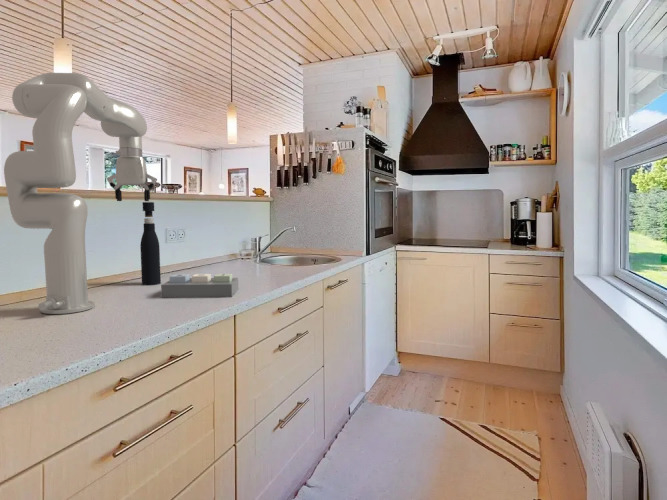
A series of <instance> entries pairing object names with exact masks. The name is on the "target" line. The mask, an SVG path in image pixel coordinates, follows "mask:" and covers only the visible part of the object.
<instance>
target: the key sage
mask: <svg viewBox="0 0 667 500" xmlns="http://www.w3.org/2000/svg"><path fill="white" fill-rule="evenodd" d="M213 278H214V283H222V282H232V278H233V273H216V274H215V275H214V276H213Z"/></svg>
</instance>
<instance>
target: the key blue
mask: <svg viewBox="0 0 667 500" xmlns="http://www.w3.org/2000/svg"><path fill="white" fill-rule="evenodd" d="M190 275H191V274H190V273H176V274H175V273H174V274H172V275H170V276H168V277H169V278H168V279H169V281H170V283H187V282H189V281H190V278H191V276H190Z"/></svg>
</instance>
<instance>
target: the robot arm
mask: <svg viewBox="0 0 667 500" xmlns="http://www.w3.org/2000/svg"><path fill="white" fill-rule="evenodd" d="M11 97H12V98H11V99H12V103H13V106H14V108H15V109H16V111H17V112H18V113H19V114H21V115H23V116H24V117H27V118H32V119H35V122H33V126H32V143H33V150H19V151H15V152H12V153H10V154H9V155H8V156H7V158H5V161H4V165H3V175H4V182H5V186H6V195H7V199H8V205H9V211H10V215H11V217H12V220H13V221H14V222H15V224H16V225H17V226H19V227H21V228H24V229H33V230H34V229H37V230H39V229H47V230H48V229H49V230H51V231H50V232H49V234H48V235H47V238H46V239H45V241H44V243H43V257H44V271H45V272H44V273H45V274H44V275H45V287H46V288H45V290H46V296H45V298H46V299H45V301H43V302H40V303H38V304H37V305H38V306H37V307H38V309H39V310H40V312H41V313H43V314H46V315H63V314H64V315H65V314H72V313H80V312H84V311H87V310H91V309H93V308H94V307H95V306H96V305H95V302H94V301H93V300H89V294H88V293H89V292H88V291H89V289H88V274H87V273H88V271H87V256H86V253H87V252H86V225H87V219H88V210H89V209H88V204H87V202H86V201H85V200H84V198H82V197H81V196H79V195H77V194H74V193H69V192H43V193H42V192H38V189H54V188H55V189H63V188H69V187H71V186H73V185H74V184H75V183H76V178H77V170H76V163H75V161H76V160H75V154H74V153H75V152H74V147H73V135H72V134H73V129H74V127H75V125H76V122H77V121H78V120H79V118H80V117H81V115H82V114H83V113H84V114H86V115H87V116H88V117H89V118H91V119H93V120H95V121H98V122H100V127H101V129H102V132H104V133H105V135H106V136H109V137H112V138H114V137H115V138H118V143H119V149H118V150H115V155H118V157H117V158H116V164H115V165H116V166H115V173H114V174H113V175H110V176H108V177H106V180H107V182H108V185H109V186H110V187H111V188H113V190H114V194H115V199H116V201H117V202H121V201H123V199H122V196H123V195H122V190H121V189H122V188H123V186H142V187H143V188H144V190H143V196H144V197H143V198H144V202H150V199H151V190H152V189H153V188H154V187H155V185H156V183H157V181H158V178H156V177H155V176H152V175H150V174H148V171H147V164H146V160H145V158H144V157H143V143H142V142H143V138H142V137H143V136H145V135H146V134H147V131H148V126H147V125H148V124H147V121H146V119H145V117H144V116H143V115H142V113H141V112H140V111H139V110H138V109H137V108H136V107H134V106H132V105H130V104H128V103H126V102H123V101H120V100H117V99H116V98H113V97H110V96H108V95H107V94H106V93H105V92H104V91H103V90H102V89H101V88H99V86H98V85H96V83H95V82H94V81H93V80H91V79H90V78H89V77H88V76H86V75H84V74H82V73H77V72H45V73H42V74H38V75H37V76H34V77H32V78H30V79H28V80H26V81H23V82H21V83H19V84H17V86H15V88H14V90H13V91H12V96H11ZM148 179H149V180H151V182H150V183H149V184H148ZM114 180H115V182H114Z"/></svg>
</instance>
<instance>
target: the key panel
mask: <svg viewBox="0 0 667 500" xmlns="http://www.w3.org/2000/svg"><path fill="white" fill-rule="evenodd" d="M160 286H161V288H160V289H161V298H170V299H171V298H232V297H233V296H234V295H235V294H236V293H237V291H238V290H239V277H232V282H222V283H214V277H211V281H210V282H209V283H192V277H190V281H189V282H187V283H170V280H168V281H166V282H164V283H162V284H161V285H160Z"/></svg>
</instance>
